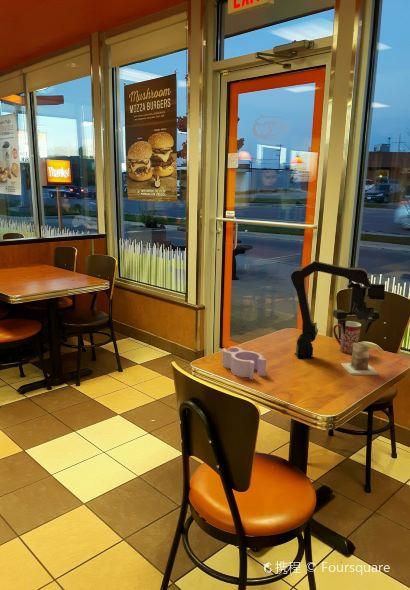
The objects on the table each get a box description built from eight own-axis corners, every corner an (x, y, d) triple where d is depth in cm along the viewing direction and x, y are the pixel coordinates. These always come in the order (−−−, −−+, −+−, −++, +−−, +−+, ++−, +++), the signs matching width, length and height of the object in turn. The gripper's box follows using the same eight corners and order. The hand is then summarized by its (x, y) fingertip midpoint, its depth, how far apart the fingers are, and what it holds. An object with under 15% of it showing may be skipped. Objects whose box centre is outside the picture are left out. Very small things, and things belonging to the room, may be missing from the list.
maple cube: (356, 358, 183) (357, 346, 182) (352, 354, 188) (353, 342, 187) (368, 358, 183) (369, 346, 182) (363, 354, 188) (365, 342, 187)
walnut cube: (355, 369, 184) (356, 358, 183) (351, 365, 189) (352, 354, 188) (367, 369, 184) (368, 358, 183) (362, 365, 189) (363, 354, 188)
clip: (215, 365, 188) (215, 350, 186) (237, 360, 195) (238, 344, 194) (247, 381, 172) (248, 364, 171) (270, 374, 180) (271, 358, 178)
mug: (362, 351, 210) (364, 323, 207) (353, 356, 203) (356, 327, 200) (336, 345, 218) (339, 318, 215) (327, 349, 211) (330, 321, 209)
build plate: (351, 374, 181) (351, 372, 181) (341, 364, 192) (341, 362, 192) (377, 374, 182) (377, 372, 182) (366, 364, 193) (366, 362, 192)
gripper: (343, 302, 180) (339, 339, 183) (388, 302, 181) (384, 339, 185) (333, 296, 191) (330, 331, 194) (376, 296, 192) (372, 331, 196)
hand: (354, 333), depth 192 cm, fingers open, 9 cm apart
